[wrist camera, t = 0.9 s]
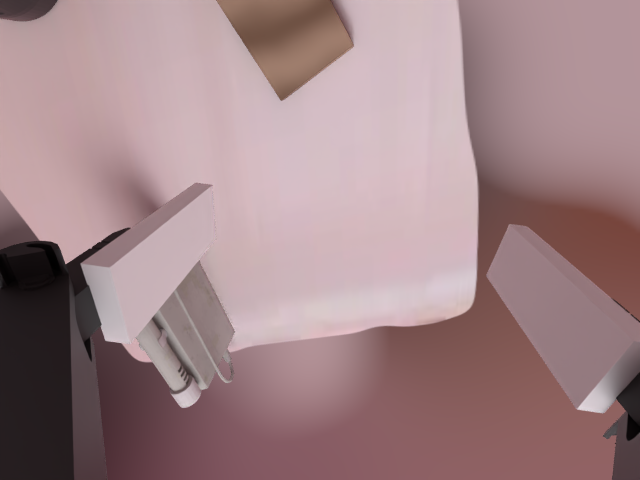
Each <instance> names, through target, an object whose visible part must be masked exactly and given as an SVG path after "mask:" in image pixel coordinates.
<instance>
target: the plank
mask: <svg viewBox="0 0 640 480" xmlns="http://www.w3.org/2000/svg"><path fill="white" fill-rule="evenodd" d="M216 1H217V2H218V4H219V5H220V7H221V8H222V10H223V12H224V13H225V15H226V16H227V18H228V19H229V21H230V22H231V24H232V26H233V27H234V29H235V30H236V32H237V33H238V35H239V36H240V38H241V39H242V41H243V43H244V44H245V46H246V47H247V49H248V50H249V52H250V53H251V55H252V57H253V58H254V60H255V61H256V63H257V64H258V66H259V67H260V69H261V70H262V72H263V74H264V75H265V77H266V78H267V80H268V81H269V83H270V84H271V86H272V88H273V89H274V91H275V92H276V94H277V95H278V97H279V98H280V100H284V99H286V98H287V97H288V96H289V95H291V94H292V93H293V92H295V91H296V90H297V89H299V88H300V87H301V86H303V85H304V84H305V83H307V82H308V81H309V80H311V79H312V78H313V77H314V76H316V75H317V74H318V73H320V72H321V71H322V70H324V69H325V68H326V67H328V66H329V65H330V64H332V63H333V62H334V61H336V60H337V59H338V58H339V57H341V56H342V55H343V54H345V53H346V52H347V51H349V50H350V49H351V48H353V47H354V45H353V43H352V41H351V39H350V37H349V35H348V33H347V31H346V29H345V27H344V26H343V24H342V22H341V20H340V18H339V16H338V14H337V12H336V10H335V8H334V6H333V4H332V3H331V1H330V0H216Z"/></svg>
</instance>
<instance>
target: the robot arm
mask: <svg viewBox="0 0 640 480" xmlns="http://www.w3.org/2000/svg"><path fill="white" fill-rule="evenodd" d="M56 2H57V0H0V18H1V19H7V20H13V21H30V20H34V19H37V18H40V17H41V16H43V15H45V14H46V13H47V12H49V11H50V10H51V9H52V7H53V6H54V5H55V3H56ZM215 240H216V230H215V215H214V199H213V185H209V184H201V183H195V184H193V185H192V186H190V187H189V188H188V189H186V190H185V191H183V192H182V193H180V194H179V195H178V196H176V197H175V198H173V199H172V200H170V201H169V202H168V203H166V204H165V205H163V206H162V207H160V208H159V209H158V210H156V211H155V212H153V213H152V214H150V215H149V216H148V217H146V218H145V219H143V220H142V221H140V222H139V223H138V224H136V225H135V226H133V227H132V228H125V229H123V230H120V231H117V232H115V233H112V234H111V235H109V236H108V237H106V238H105V239H103V240H102V241H101V242H99V243H97V244H96V245H94V246H93V247H92V249H88V250H87V251H85V252H84V253H82V254H81V255H79V256H78V257H76V258H75V259H73V260H72V261H70V262H69V263H67V264H66V265H65V262H64V259H63V256H62V253H61V250H60V248H59V246H58V244H56V243H53V242H49V241H33V242H25V243H20V244H16V245H13V246H9V247H7V248H4V249H1V250H0V480H107V473H106V462H105V452H104V442H103V432H102V422H101V412H100V402H99V392H98V383H97V372H96V362H95V352H94V343H93V341H92V338H91V335H92V334H93V333H94V332H95V331H96V330H97V329H98V328H99V327H100V326H101V328H102V331H103V334H104V337H105V340H106V341H112V342H118V343H125V344H131V343H132V342H133V341H134V339H135V338H136V337H137V336H138V335H139V333H140V332H141V331H142V330H143V328H144V327H145V326H146V325H147V323H148V322H149V321H150V320H151V319H152V317H153V316H154V315H155V314H156V312H157V311H158V310H159V309H160V307H161V306H162V305H163V304H164V303H165V301H166V300H167V299H168V298H169V296H170V295H171V294H172V293H173V291H174V290H175V289H176V288H177V287H178V285H179V284H180V283H181V282H182V280H183V279H184V278H185V277H186V276H187V274H188V273H189V272H190V271H191V269H192V268H193V267H194V266H195V264H196V263H197V262H198V261H199V260H200V258H201V257H202V256H203V255H204V253H205V252H206V251H207V250H208V248H209V247H210V246H211V245H212V244H213V242H214V241H215ZM486 276H487V278H488V279H489V281H490V282H491V284H492V285H493V287H494V288H495V290H496V291H497V293H498V294H499V296H500V297H501V299H502V300H503V301H504V303H505V304H506V306H507V307H508V309H509V310H510V312H511V313H512V315H513V316H514V318H515V319H516V321H517V322H518V324H519V325H520V326H521V328H522V330H523V331H524V332H525V334H526V335H527V337H528V338H529V340H530V341H531V343H532V344H533V346H534V347H535V349H536V350H537V352H538V353H539V355H540V356H541V358H542V359H543V360H544V362H545V363H546V365H547V366H548V368H549V369H550V371H551V372H552V374H553V375H554V377H555V378H556V380H557V381H558V382H559V384H560V385H561V387H562V389H563V390H564V391H565V393H566V394H567V396H568V397H569V398H570V400H571V402H572V403H573V405H574V406H575V408H576V409H578V410H585V411H592V412H599V413H604V412H605V411H606V410H607V409H608V408H609V407H610V406H611V405H612V404H613V402H614V401H615V400H616V399H617V400H618V402H619V403H620V404H621V405H622V406H623V408H624V409H625V410H626V412H625V413H624V414H623V415H622V416H621V417H620V418H619V419H618V420H617V421H616V422H615V423H614V424H613V425H612V426H611V427H610V428H609V429H608V430H607V431H606V432H605V434H604V435H603V437H605V438H606V439H608V438H610V437H611V436H612V435H617V437H616V443H615V444H616V447H615V457H614V466H613V476H612V480H640V321H639V320H638V319H637V318H635V317H634V316H633V315H632V314H629V312H628V311H627V310H626V309H625V308H623V307H622V306H621V305H620V304H619V303H618V302H617V301H615V300H614V299H612V298H610V297H609V296H608V295H607V294H606V293H604V292H603V291H602V290H601V289H599V288H598V287H597V286H596V285H595V284H594V283H593V282H591V281H590V280H589V279H588V278H587V277H586V276H584V275H583V274H582V273H581V272H580V271H579V270H577V269H576V268H575V267H574V266H573V265H572V264H570V263H569V262H568V261H567V260H566V259H565V258H563V257H562V256H561V255H560V254H559V253H558V252H556V251H555V250H554V249H553V248H552V247H551V246H549V245H548V244H547V243H546V242H545V241H543V240H542V239H541V238H540V237H539V236H538V235H536V234H535V233H534V232H533V231H532V230H531V229H529V228H528V227H527V226H519V225H511V224H509V226H508V229H507V231H506V233H505V235H504V238H503V240H502V242H501V244H500V246H499V249H498V251H497V253H496V255H495V257H494V260H493V262H492V264H491V266H490V269H489V271H488V273H487V275H486Z"/></svg>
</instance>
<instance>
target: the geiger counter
mask: <svg viewBox="0 0 640 480" xmlns="http://www.w3.org/2000/svg"><path fill="white" fill-rule="evenodd" d="M234 333H235V331H234V329H233V327H232V325H231V323H230V321H229V319H228V317H227V315H226V313H225V312H224V310H223V308H222V306H221V304H220V302H219V300H218V298H217V296H216V294H215V292H214V290H213V288H212V286H211V284H210V282H209V280H208V278H207V276H206V274H205V272H204V270H203V268H202V266H201V264H200V262H199V261H198V262H197V263H196V264H195V266H194V267H193V268H192V269H191V271H190V272H189V273H188V274H187V276H186V277H185V278H184V279H183V280H182V282H181V283H180V284H179V285H178V287H177V288H176V289H175V290H174V291H173V293H172V294H171V295H170V296H169V298H168V299H167V300H166V301H165V303H164V304H163V305H162V306H161V307H160V309H159V310H158V311H157V312H156V314H155V315H154V316H153V317H152V319H151V320H150V321H149V322H148V323H147V325H146V326H145V327H144V328H143V330H142V331H141V332H140V333H139V335H138V336H137V337H136V339H137V340H138V342H139V347H140V348H141V350H143V351H144V350H145V352H146V353H147V355H148V356H149V358H150V359H151V360H152V362H153V363H154V365H155V366H156V368H157V369H158V370H159V372H160V373H161V375H162V376H163V378H164V379H165V380H166V382H167V383H168V385H169V386H170V393H171V394H172V396H173V397H174V398H175V400H176V402H177V403H178V404H179V406H181V407H184V408H185V407H189V406H191V405H192V404H194V403H195V402H196V401H197V400H198V399H199V397H200V395H201V390H203V389H207V388H208V387H209V385H210V383H211V380H212V379H213V377H214V374H215V372H216V371H217V373H218V375H219V377H220V378H221V379H222V380H223V381H224V382H226V383H229V382H231V381H232V379H233V376H234V370H233V366H232V363H231V357H230V355H229V354H230V353H229V351H228V349H227V347H228V345H229V343H230V341H231V339H232V337H233V335H234ZM222 358H224V360H225V361H226V362H228V363H229V366H230V370H231V378H230V379H229V380H227V379H225V378H224V376H223V375H222V374H221V372H220V370H219V368H218V366H219V364H220V362H221V360H222Z"/></svg>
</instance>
